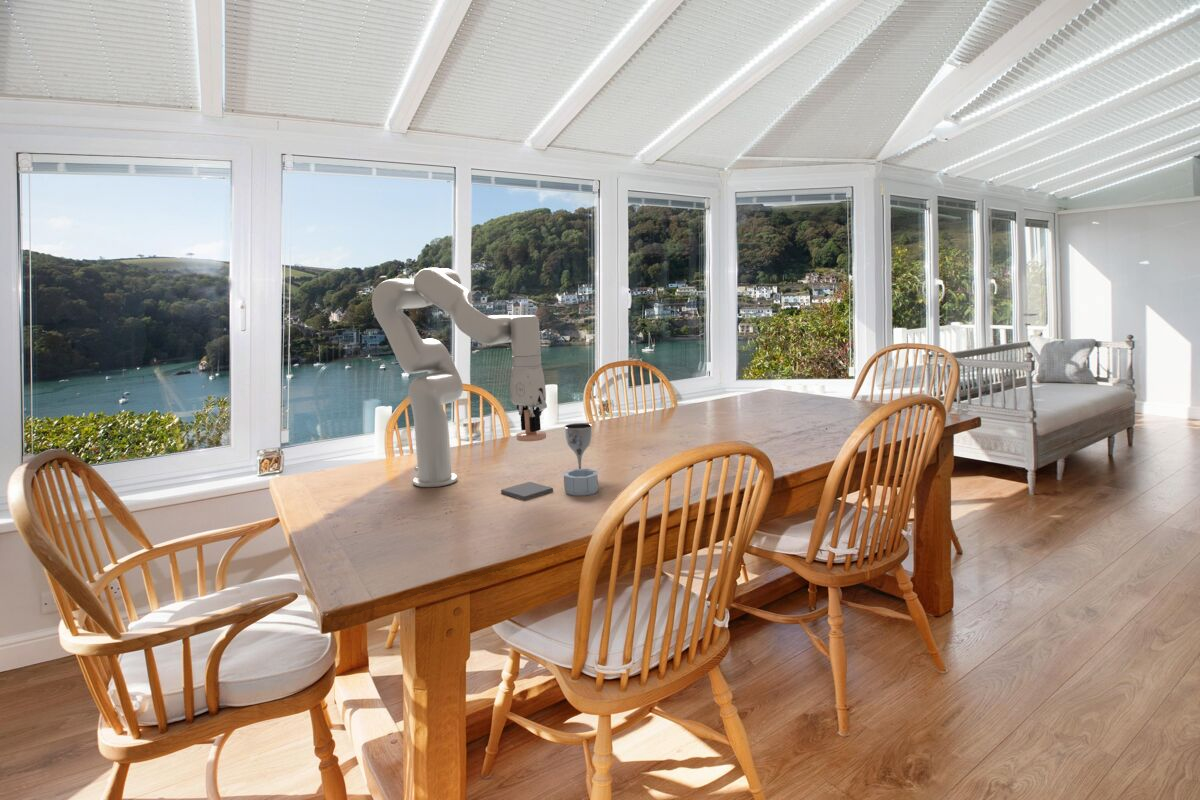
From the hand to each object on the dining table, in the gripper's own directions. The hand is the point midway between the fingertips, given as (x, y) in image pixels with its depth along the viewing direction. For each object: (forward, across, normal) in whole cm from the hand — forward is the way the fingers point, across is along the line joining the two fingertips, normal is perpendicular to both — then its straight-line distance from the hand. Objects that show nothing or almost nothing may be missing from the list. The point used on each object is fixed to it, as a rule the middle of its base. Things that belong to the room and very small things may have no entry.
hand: (530, 429), depth 183 cm
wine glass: (+18, -3, +20) cm, 27 cm away
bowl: (+18, +9, +9) cm, 22 cm away
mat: (+17, -2, -1) cm, 18 cm away
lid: (+2, 0, 0) cm, 2 cm away
